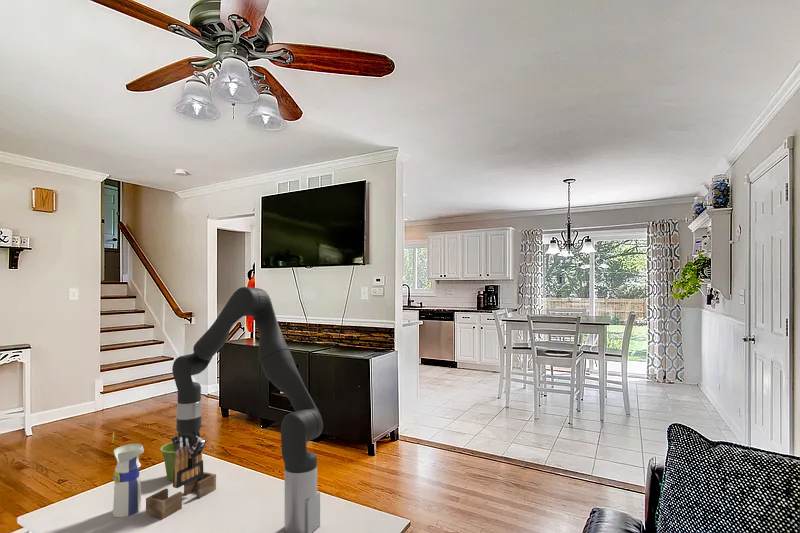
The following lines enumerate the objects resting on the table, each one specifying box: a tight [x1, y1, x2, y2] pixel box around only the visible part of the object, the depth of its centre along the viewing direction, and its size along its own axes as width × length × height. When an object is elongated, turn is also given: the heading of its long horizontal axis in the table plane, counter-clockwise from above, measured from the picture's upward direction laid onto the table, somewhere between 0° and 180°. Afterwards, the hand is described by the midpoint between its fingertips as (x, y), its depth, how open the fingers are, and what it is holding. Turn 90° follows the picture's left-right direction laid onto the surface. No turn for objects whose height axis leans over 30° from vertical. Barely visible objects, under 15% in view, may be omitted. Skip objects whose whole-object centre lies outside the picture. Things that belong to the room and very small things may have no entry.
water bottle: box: [111, 431, 145, 518], centre depth 138 cm, size 8×9×25 cm
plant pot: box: [160, 441, 180, 482], centre depth 162 cm, size 12×12×11 cm
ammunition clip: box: [172, 447, 204, 489], centre depth 146 cm, size 11×2×12 cm, turn 158°
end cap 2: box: [183, 471, 217, 499], centre depth 150 cm, size 7×7×5 cm
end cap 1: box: [145, 488, 183, 520], centre depth 137 cm, size 7×7×5 cm
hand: (188, 468), depth 146 cm, fingers closed on ammunition clip, 2 cm apart
